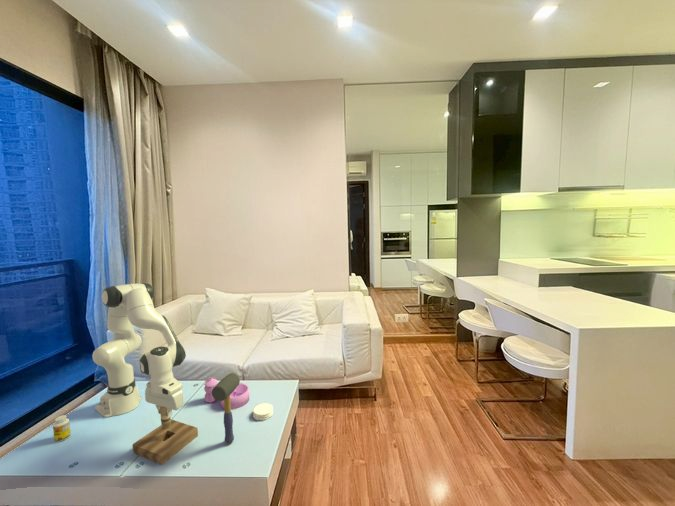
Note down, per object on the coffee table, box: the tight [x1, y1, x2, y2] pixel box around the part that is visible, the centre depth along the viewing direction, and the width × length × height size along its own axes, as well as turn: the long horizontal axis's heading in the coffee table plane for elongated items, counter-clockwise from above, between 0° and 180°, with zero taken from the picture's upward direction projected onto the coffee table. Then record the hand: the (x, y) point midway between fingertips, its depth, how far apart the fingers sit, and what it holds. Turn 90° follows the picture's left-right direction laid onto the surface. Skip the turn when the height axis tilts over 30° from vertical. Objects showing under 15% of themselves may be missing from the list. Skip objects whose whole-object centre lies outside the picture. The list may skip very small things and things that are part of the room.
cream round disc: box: [252, 402, 274, 422], centre depth 151 cm, size 10×10×4 cm
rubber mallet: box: [212, 372, 241, 445], centre depth 131 cm, size 12×8×30 cm, turn 170°
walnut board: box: [132, 418, 199, 465], centre depth 132 cm, size 18×18×4 cm
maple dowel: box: [159, 406, 172, 430], centre depth 131 cm, size 4×4×12 cm
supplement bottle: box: [52, 414, 72, 443], centre depth 137 cm, size 6×6×10 cm
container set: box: [203, 376, 250, 411], centre depth 164 cm, size 25×15×13 cm, turn 83°
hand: (165, 414), depth 131 cm, fingers closed on maple dowel, 4 cm apart
